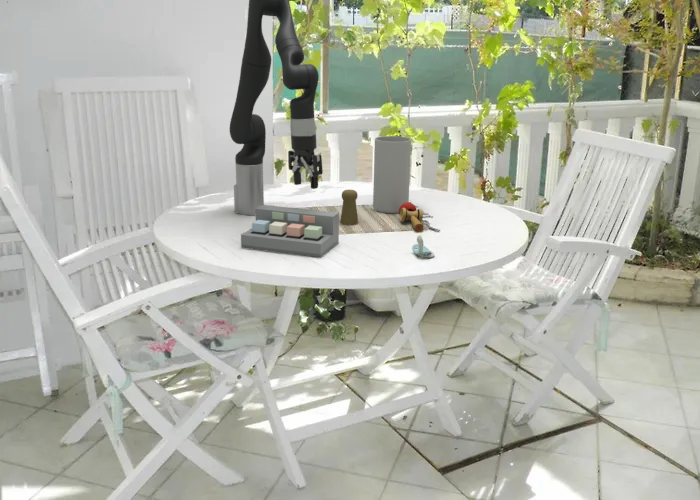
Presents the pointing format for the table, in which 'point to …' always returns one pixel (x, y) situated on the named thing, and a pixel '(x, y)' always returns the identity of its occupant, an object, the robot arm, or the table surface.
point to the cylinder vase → (391, 173)
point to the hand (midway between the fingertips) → (306, 186)
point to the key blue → (261, 227)
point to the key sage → (313, 233)
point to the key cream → (278, 229)
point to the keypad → (292, 245)
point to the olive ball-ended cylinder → (349, 208)
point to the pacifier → (421, 248)
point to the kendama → (411, 215)
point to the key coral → (295, 231)
